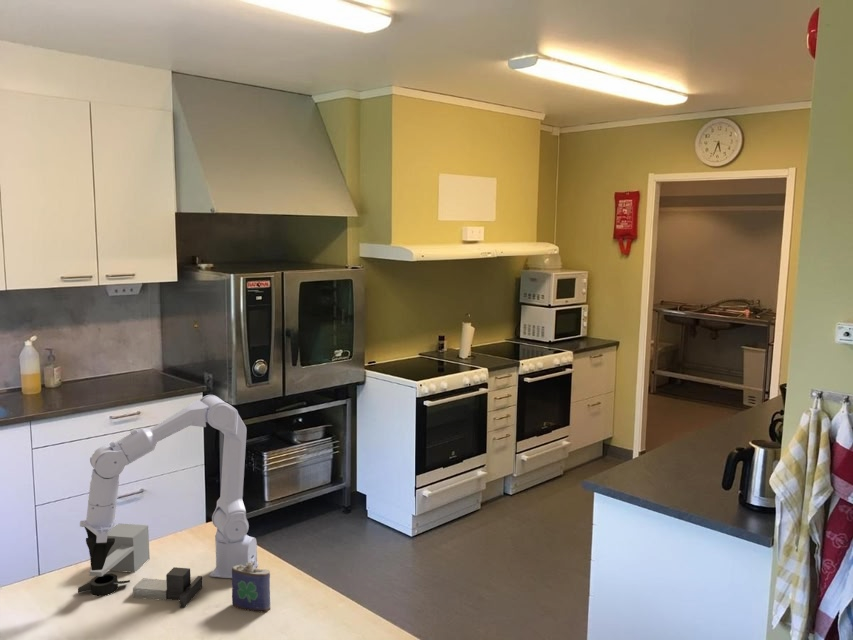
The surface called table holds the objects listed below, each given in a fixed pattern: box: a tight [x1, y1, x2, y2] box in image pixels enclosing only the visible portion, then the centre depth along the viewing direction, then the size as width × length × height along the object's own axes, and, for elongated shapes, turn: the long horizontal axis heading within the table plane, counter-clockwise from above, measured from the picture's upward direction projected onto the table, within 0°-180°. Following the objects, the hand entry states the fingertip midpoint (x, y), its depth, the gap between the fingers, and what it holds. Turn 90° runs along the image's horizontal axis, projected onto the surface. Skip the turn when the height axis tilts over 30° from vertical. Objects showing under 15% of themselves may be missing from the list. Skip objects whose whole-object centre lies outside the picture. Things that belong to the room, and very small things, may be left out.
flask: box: [231, 561, 271, 613], centre depth 153 cm, size 9×3×11 cm, turn 74°
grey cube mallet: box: [88, 523, 151, 577], centre depth 165 cm, size 8×20×9 cm, turn 172°
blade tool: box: [132, 566, 203, 609], centre depth 158 cm, size 14×9×6 cm, turn 82°
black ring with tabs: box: [77, 572, 131, 597], centre depth 160 cm, size 8×10×3 cm
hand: (95, 562), depth 152 cm, fingers open, 7 cm apart
